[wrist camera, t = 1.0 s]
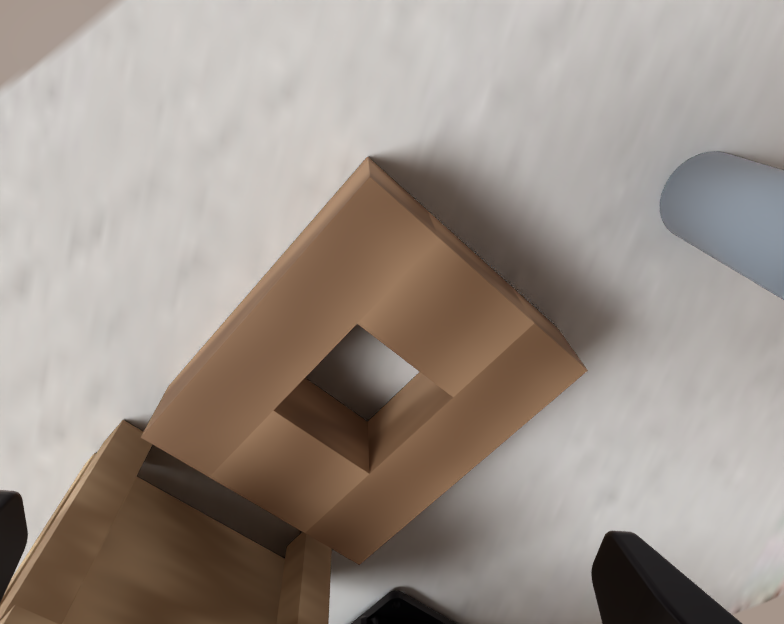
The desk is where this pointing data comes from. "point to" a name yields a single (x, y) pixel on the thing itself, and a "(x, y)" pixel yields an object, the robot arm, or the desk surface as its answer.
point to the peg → (730, 214)
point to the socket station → (302, 427)
